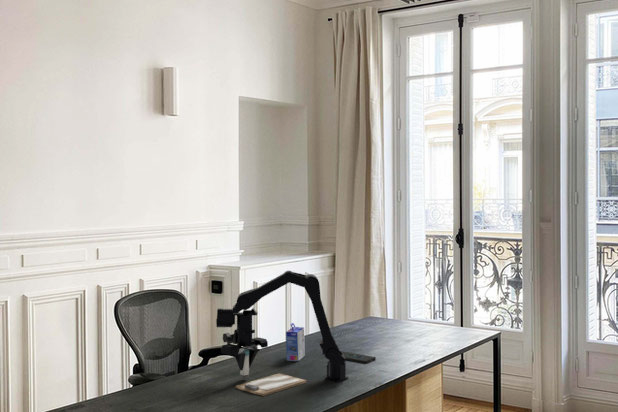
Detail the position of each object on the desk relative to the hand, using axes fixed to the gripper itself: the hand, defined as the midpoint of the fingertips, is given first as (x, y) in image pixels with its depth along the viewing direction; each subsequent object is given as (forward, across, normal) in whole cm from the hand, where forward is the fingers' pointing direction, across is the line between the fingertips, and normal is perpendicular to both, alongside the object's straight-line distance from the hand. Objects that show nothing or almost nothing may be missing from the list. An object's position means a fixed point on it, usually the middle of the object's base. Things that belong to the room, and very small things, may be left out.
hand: (244, 369), depth 255 cm
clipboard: (+4, -2, +12) cm, 13 cm away
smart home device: (+5, -52, +8) cm, 53 cm away
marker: (+3, 0, 0) cm, 3 cm away
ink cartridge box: (+4, -36, -8) cm, 37 cm away
